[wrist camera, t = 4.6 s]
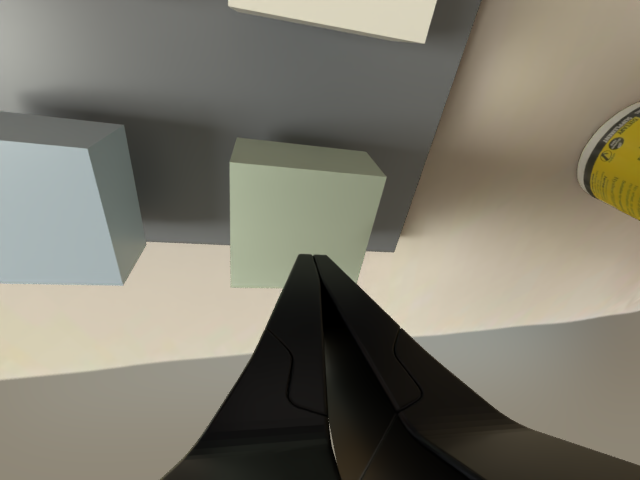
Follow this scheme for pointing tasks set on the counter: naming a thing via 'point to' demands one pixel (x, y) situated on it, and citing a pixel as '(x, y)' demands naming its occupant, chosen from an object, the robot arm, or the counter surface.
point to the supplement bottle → (614, 162)
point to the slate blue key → (66, 202)
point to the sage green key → (298, 208)
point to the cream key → (351, 16)
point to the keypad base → (230, 95)
